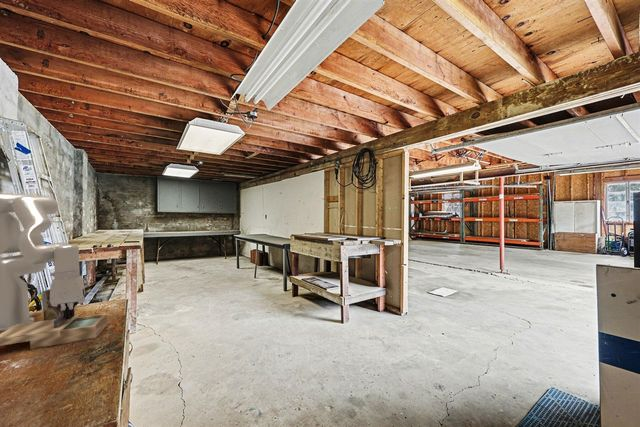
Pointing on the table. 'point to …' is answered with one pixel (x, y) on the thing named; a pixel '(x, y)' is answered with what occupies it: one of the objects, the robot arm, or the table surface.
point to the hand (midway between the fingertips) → (69, 318)
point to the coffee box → (50, 307)
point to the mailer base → (76, 331)
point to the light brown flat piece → (35, 330)
